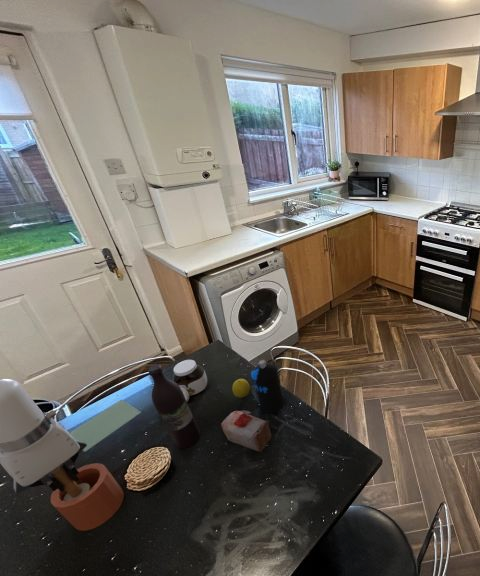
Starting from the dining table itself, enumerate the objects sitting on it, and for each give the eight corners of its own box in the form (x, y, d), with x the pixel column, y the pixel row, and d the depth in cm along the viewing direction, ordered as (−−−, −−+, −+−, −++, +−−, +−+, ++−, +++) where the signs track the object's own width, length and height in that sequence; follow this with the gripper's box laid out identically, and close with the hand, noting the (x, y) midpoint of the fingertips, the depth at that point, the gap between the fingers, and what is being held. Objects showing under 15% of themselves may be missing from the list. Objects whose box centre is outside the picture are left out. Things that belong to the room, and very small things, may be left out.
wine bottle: (173, 452, 93) (135, 381, 79) (176, 433, 99) (141, 363, 84) (200, 444, 96) (167, 372, 81) (201, 425, 102) (171, 356, 87)
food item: (222, 442, 96) (214, 421, 92) (240, 421, 103) (233, 401, 98) (259, 456, 93) (252, 435, 88) (275, 433, 99) (270, 412, 94)
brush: (79, 519, 74) (46, 483, 67) (69, 509, 76) (36, 473, 69) (102, 499, 78) (73, 464, 71) (92, 490, 80) (63, 455, 73)
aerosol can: (277, 391, 114) (268, 349, 104) (288, 404, 109) (279, 362, 99) (256, 404, 109) (243, 361, 99) (266, 418, 104) (255, 375, 94)
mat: (85, 453, 93) (84, 452, 93) (65, 436, 98) (65, 435, 98) (141, 413, 106) (141, 412, 105) (122, 400, 110) (121, 399, 110)
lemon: (232, 401, 110) (226, 385, 106) (240, 389, 115) (236, 373, 111) (246, 403, 110) (241, 387, 106) (254, 391, 114) (250, 375, 110)
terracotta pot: (86, 539, 74) (63, 516, 69) (65, 517, 78) (42, 493, 73) (132, 498, 82) (114, 474, 77) (111, 480, 86) (93, 456, 81)
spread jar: (209, 378, 120) (201, 355, 114) (208, 400, 111) (199, 376, 105) (173, 388, 115) (163, 364, 110) (169, 411, 106) (157, 387, 101)
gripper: (63, 398, 71) (98, 447, 80) (-42, 457, 59) (13, 508, 68) (80, 410, 68) (114, 460, 77) (-27, 476, 56) (29, 526, 65)
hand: (67, 482), depth 73 cm, fingers closed on brush
